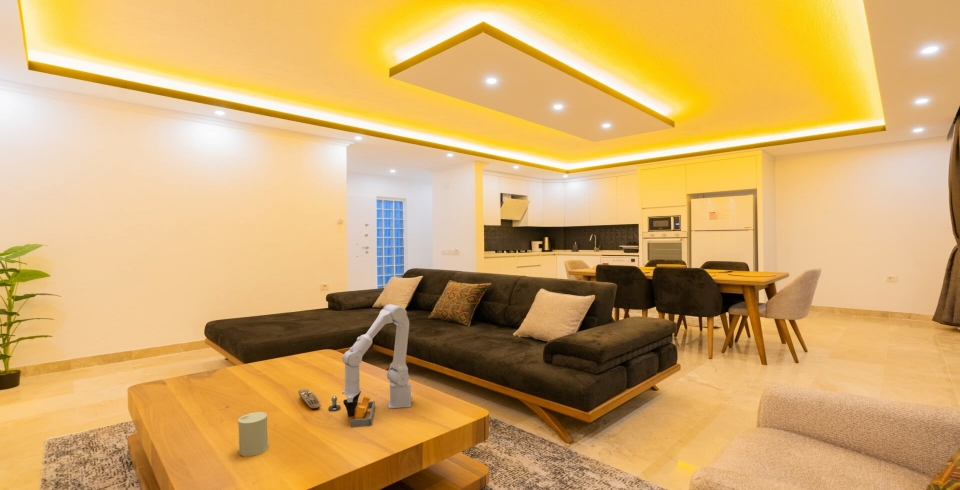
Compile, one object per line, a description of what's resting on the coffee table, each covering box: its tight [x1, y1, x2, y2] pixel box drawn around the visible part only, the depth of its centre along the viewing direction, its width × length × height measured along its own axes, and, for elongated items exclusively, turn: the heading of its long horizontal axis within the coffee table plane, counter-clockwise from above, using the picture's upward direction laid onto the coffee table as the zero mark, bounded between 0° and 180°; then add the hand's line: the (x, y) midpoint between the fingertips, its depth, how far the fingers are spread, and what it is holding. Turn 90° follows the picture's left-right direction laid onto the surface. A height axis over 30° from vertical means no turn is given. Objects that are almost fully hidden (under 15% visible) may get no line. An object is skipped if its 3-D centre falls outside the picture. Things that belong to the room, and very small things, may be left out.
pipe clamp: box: [354, 395, 371, 419], centre depth 178 cm, size 12×4×6 cm, turn 3°
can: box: [237, 411, 269, 457], centre depth 153 cm, size 9×9×12 cm
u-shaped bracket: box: [349, 401, 376, 428], centre depth 179 cm, size 8×18×3 cm, turn 9°
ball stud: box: [327, 395, 341, 412], centre depth 187 cm, size 5×5×6 cm
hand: (352, 413), depth 178 cm, fingers open, 7 cm apart
